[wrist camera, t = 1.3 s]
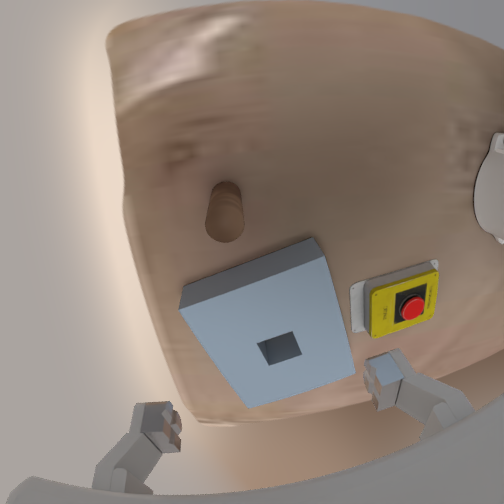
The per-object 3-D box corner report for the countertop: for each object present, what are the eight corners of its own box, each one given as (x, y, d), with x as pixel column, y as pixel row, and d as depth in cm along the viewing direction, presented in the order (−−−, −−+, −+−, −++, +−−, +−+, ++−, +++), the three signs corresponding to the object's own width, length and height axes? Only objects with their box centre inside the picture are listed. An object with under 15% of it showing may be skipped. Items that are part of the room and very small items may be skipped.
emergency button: (444, 320, 39) (359, 351, 40) (431, 304, 43) (350, 331, 44) (452, 270, 35) (359, 300, 36) (436, 256, 39) (347, 282, 40)
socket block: (312, 237, 36) (324, 255, 31) (346, 350, 45) (355, 373, 40) (183, 286, 37) (178, 310, 33) (246, 384, 46) (248, 408, 42)
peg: (233, 177, 32) (235, 199, 24) (245, 203, 33) (250, 234, 25) (206, 188, 32) (198, 214, 24) (218, 213, 34) (214, 248, 26)
